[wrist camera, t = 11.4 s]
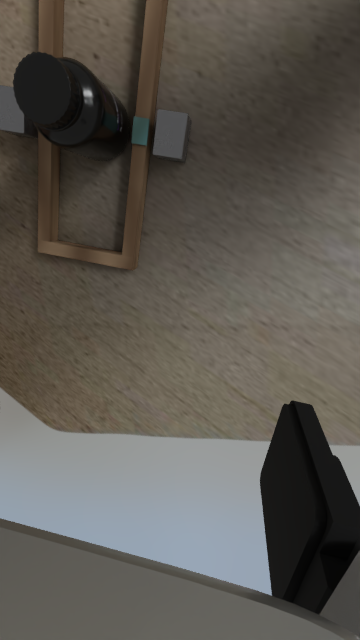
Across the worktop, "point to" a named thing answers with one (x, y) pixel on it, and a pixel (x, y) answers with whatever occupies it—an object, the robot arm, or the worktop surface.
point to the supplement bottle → (71, 106)
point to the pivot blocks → (169, 131)
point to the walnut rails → (141, 139)
